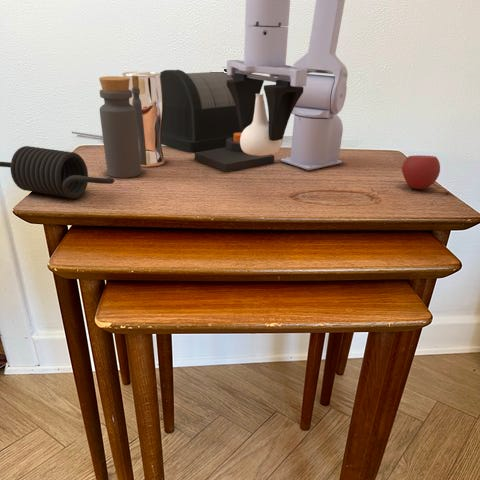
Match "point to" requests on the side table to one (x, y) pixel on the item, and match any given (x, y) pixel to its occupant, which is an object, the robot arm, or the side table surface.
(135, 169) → the bottle
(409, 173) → the fruit
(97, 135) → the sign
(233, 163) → the scale
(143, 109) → the beer glass
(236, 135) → the button
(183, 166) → the side table surface
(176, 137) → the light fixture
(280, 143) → the garlic bulb
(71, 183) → the coil
